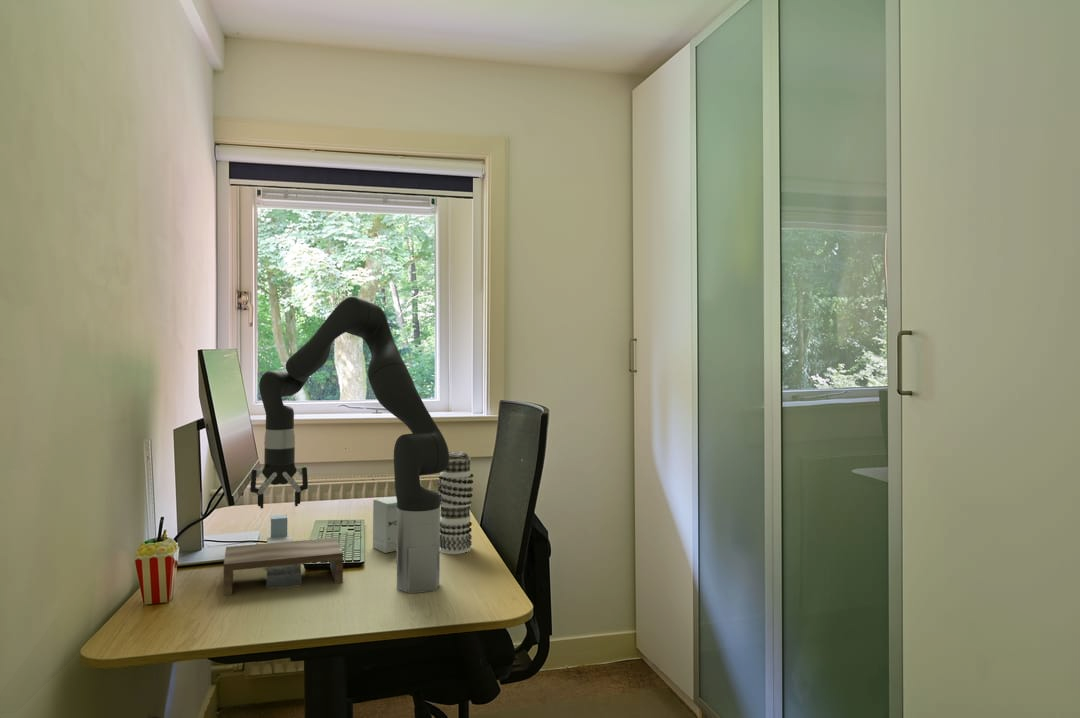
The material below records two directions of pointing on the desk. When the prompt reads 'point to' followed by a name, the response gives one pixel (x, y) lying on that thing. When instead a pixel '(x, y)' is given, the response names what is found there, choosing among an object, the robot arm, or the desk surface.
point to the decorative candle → (455, 505)
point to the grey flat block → (284, 576)
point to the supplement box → (385, 524)
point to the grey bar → (279, 529)
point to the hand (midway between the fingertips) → (279, 506)
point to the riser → (282, 557)
